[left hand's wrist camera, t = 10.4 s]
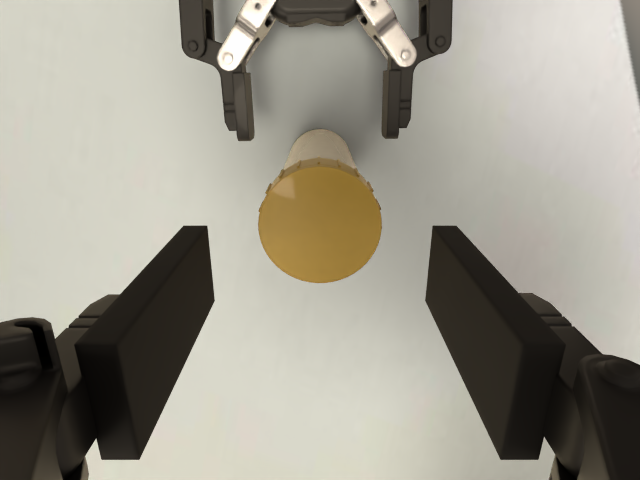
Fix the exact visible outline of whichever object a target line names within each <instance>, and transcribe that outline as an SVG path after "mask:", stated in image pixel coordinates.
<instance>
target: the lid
mask: <svg viewBox="0 0 640 480" xmlns="http://www.w3.org/2000/svg"><path fill="white" fill-rule="evenodd" d="M266 194H267V195H266V197H265V199H264V201H263V202H262V204H261V206H260V209H259V212H260V214H259V223H258V227H259V229H258V230H259V235H260V240H261V243H262V245H263V248H264V250H265V252H266V254H267V255H268V256H269V258H270V259H271V261H272V262H273V263H274V264H275V265H276V266H277V267H278V268H280V269H281V270H282V271H283V272H285V273H287V274H288V275H290V276H292V277H294V278H297V279H299V280H302V281H307V282H313V283H327V282H334V281H337V280H341V279H343V278H346V277H348V276H350V275H352V274H354V273H355V272H356V271H358V270H359V269H361V268H362V267H363V266H364V265H365V264H366V263H367V262H368V260H369V259H370V258H371V257H372V255H373V253H374V252H375V250H376V248H377V246H378V243H379V240H380V235H381V229H382V221H381V214H380V210H381V207H380V205H379V203H378V201H377V199H375V197H374V195H373V189H372V187H371V185H370V183H369V182H366V180H365V179H364V178H363V177H362V176H361V175H360V174H359V173H358V170H357V169H356V168H354V169H353V168H352V167H350V166H349V165H347V164H345V163H342V162H340V159H337V160H333V159H327V158H320V156H318V158H313V159H307V160H303V161H301V160H298V163H295V164H293V165H291V166H290V167H288V168H287V169H285V170H284V169H282V170H281V172H280V175H279V176H278V177H277V178H276V179H275V180H274V182H273V183H272V184H271V183H270V184H269V186H268V188H267V191H266Z"/></svg>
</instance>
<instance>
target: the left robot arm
mask: <svg viewBox="0 0 640 480" xmlns="http://www.w3.org/2000/svg"><path fill="white" fill-rule="evenodd" d="M214 301H215V300H214V290H213V279H212V269H211V259H210V249H209V239H208V229H207V226H183V227H182V228H181V229H180V230H179V231H178V232H177V234H176V235H175V236H174V237H173V238H172V239H171V240H170V241H169V242H168V243H167V244H166V245H165V247H164V248H163V249H162V250H161V251H160V252H159V253H158V254H157V255H156V256H155V257H154V258H153V260H152V261H151V262H150V263H149V264H148V265H147V266H146V267H145V268H144V269H143V270H142V271H141V273H140V274H139V275H138V276H137V277H136V278H135V279H134V280H133V281H132V282H131V283H130V284H129V286H128V287H127V288H126V289H125V290H124V291H123V292H122V293H121V294H120V295H107V296H105V297H103V298H101V299H99V300H98V301H96V302H94V303H92V304H90V305H89V306H88V307H87V308H86V309H85V310H84V311H83V312H82V313H81V314H80V315H79V318H76V319H75V320H74V321H73V322H72V323H71V324H70V325H69V328H66V329H65V330H64V331H63V332H62V333H61V334H60V335H59V336H58V337H57V338H56V339H55V337H54V333H53V329H52V326H51V323H50V322H48V321H47V320H45V319H41V318H34V317H31V318H19V319H14V320H9V321H5V322H1V323H0V480H88V476H89V473H88V466H87V462H86V458H85V455H86V454H87V452H88V450H89V449H90V447H91V446H92V444H93V442H94V441H95V439H96V438H97V442H98V447H99V451H100V455H101V459H102V460H139V459H140V457H141V455H142V453H143V451H144V449H145V447H146V444H147V442H148V440H149V438H150V436H151V434H152V432H153V430H154V428H155V425H156V423H157V421H158V419H159V417H160V415H161V413H162V411H163V409H164V406H165V404H166V402H167V400H168V398H169V396H170V394H171V392H172V390H173V387H174V385H175V383H176V381H177V379H178V377H179V375H180V373H181V371H182V368H183V366H184V364H185V362H186V360H187V358H188V356H189V354H190V352H191V349H192V347H193V345H194V343H195V341H196V339H197V337H198V335H199V333H200V330H201V328H202V326H203V324H204V322H205V320H206V318H207V316H208V314H209V311H210V309H211V307H212V305H213V303H214ZM425 301H426V303H427V305H428V307H429V309H430V312H431V314H432V316H433V318H434V320H435V322H436V324H437V326H438V328H439V330H440V333H441V335H442V337H443V339H444V341H445V343H446V345H447V347H448V349H449V352H450V354H451V356H452V358H453V360H454V362H455V364H456V366H457V368H458V371H459V373H460V375H461V377H462V379H463V381H464V383H465V385H466V387H467V390H468V392H469V394H470V396H471V398H472V400H473V402H474V404H475V406H476V409H477V411H478V413H479V415H480V417H481V419H482V421H483V423H484V425H485V428H486V430H487V432H488V434H489V436H490V438H491V440H492V442H493V444H494V447H495V449H496V451H497V453H498V455H499V457H500V459H501V460H538V459H539V455H540V451H541V447H542V442H543V438H544V437H545V439H546V440H547V442H548V443H549V445H550V447H551V448H552V450H553V451H554V453H555V458H554V462H553V466H552V470H551V473H550V477H549V480H640V365H639V364H636V363H634V362H632V361H630V360H627V359H623V358H620V357H616V356H613V355H603V354H602V353H601V352H600V351H599V350H598V349H597V348H596V347H594V346H593V345H592V344H591V343H590V342H589V341H588V340H587V339H586V338H585V337H584V336H583V335H582V334H581V333H580V332H579V331H578V330H577V329H576V328H575V327H572V325H571V323H570V322H569V321H568V320H567V319H566V318H565V317H562V314H561V313H560V312H559V311H558V310H557V309H556V308H555V307H554V306H553V305H552V304H550V303H549V302H547V301H545V300H544V299H542V298H540V297H538V296H536V295H534V294H533V293H518V292H517V291H516V290H515V289H514V288H513V287H512V286H511V284H510V283H509V282H508V281H507V280H506V279H505V278H504V277H503V276H502V275H501V274H500V273H499V271H498V270H497V269H496V268H495V267H494V266H493V265H492V264H491V263H490V262H489V261H488V260H487V258H486V257H485V256H484V255H483V254H482V253H481V252H480V251H479V250H478V249H477V248H476V247H475V245H474V244H473V243H472V242H471V241H470V240H469V239H468V238H467V237H466V236H465V235H464V234H463V232H462V231H461V230H460V229H459V228H458V227H457V226H433V229H432V239H431V249H430V259H429V269H428V279H427V290H426V300H425Z"/></svg>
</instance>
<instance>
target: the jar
mask: <svg viewBox="0 0 640 480" xmlns="http://www.w3.org/2000/svg"><path fill="white" fill-rule="evenodd" d="M318 156H320V158H327V159H333V160H337V159H340V162H342V163H345V164H347V165H349V166H350V167H352V168H353V169H354V168H356V166H355V163H354V161H353V158H352V156H351V154H350V151H349V149H348V146H347V144H346V143H345V141H344V140H343V139H342V138H341V137H340V136H339V135H337V134H336V133H334V132H332V131H329V130H325V129H315V130H311V131H308V132H306V133H304V134H303V135H301V136H300V137H299V138H298V139H297V140H296V141H295V143H294V144H293V146H292V148H291V151H290V153H289V156H288V158H287V161H286V163H285V166H284V168H283V169H284V170H285V169H287V168H288V167H290V166H291V165H293V164H295V163H298V160H301V161H303V160H307V159H313V158H318ZM356 169H357V168H356Z"/></svg>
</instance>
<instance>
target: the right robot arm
mask: <svg viewBox="0 0 640 480" xmlns="http://www.w3.org/2000/svg"><path fill="white" fill-rule="evenodd" d="M452 1H453V0H419V37H418V38H415V39H413V40H410V39H409V38H408V36H407V35H406V33H405V32H404V30H403V28H402V27H401V25H400V24H399V22H398V21H397V18H396V15H395V13H394V11H393V9H392V8H391V6H390V5H389V3H388V2H387V0H246V2H245V3H244V5H243V7H242V8H241V10H240V12H239V14H238V16H237V18H236V22H235V24H234V26H233V28H232V30H231V31H230V33H229V35H228V36H227V38H226V40H225V41H224V43H223V44H221V43H219V42H216V41H215V37H214V13H213V0H179V10H180V25H181V40H182V49H183V51H184V53H185V54H186V55H187V56H188V57H190V58H194V59H197V60H200V61H203V62H206V63H208V64H211V65H213V66H214V67H215V68H216V69H217V70H218V71H219V73H220V77H221V86H222V96H223V107H224V117H225V123H226V125H227V127H228V129H229V131H237V138H238V141H251V140H252V139H253V138H254V118H253V104H252V90H251V76H250V73H246V65H247V63H248V61H249V60H250V58H251V57H252V55H253V53H254V52H255V50H256V49H257V47H258V45H259V44H260V42H261V41H262V40H263V39H264V38H265V36H266V35H267V33H268V32H269V30H270V28H271V27H272V25H273V24H274V22H275V20H276V19H277V20H278V21H280V22H281V23H283V24H286V25H288V26H289V27H303V26H306V25H309V24H312V23H316V22H317V23H321V24H324V25H328V26H344V24H346V23H348V22H350V21H352V20H353V19H355V18H357V19H358V21H359V22H360V24H361V25H362V27H363V28H364V30H365V31H366V33H367V34H368V35H369V37H370V38H371V39H372V40H373V41H374V42H375V44H376V45H377V47H378V48H379V50H380V51H381V53H382V54H383V55H384V57H385V58H386V60H387V61H388V70H387V71H383V100H382V136H383V137H384V138H385V139H397V138H398V135H399V128H407V126H408V123H409V121H410V118H411V100H412V81H413V71H414V69H415V67H416V66H417V64H418V63H420V62H421V61H423V60H425V59H428V58H430V57H433V56H435V55H438V54H442V53H444V52H446V51H447V50H448V49H449V47H450V45H451V40H452Z"/></svg>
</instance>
